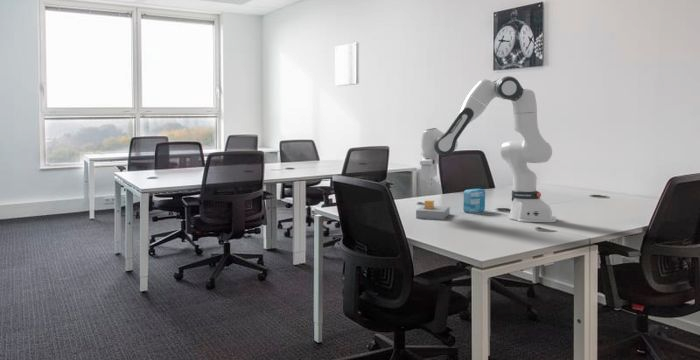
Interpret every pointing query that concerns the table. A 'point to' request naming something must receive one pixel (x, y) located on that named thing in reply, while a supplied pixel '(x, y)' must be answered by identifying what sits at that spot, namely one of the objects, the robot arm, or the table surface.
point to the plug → (429, 204)
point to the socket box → (433, 212)
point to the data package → (474, 200)
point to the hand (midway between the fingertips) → (429, 186)
